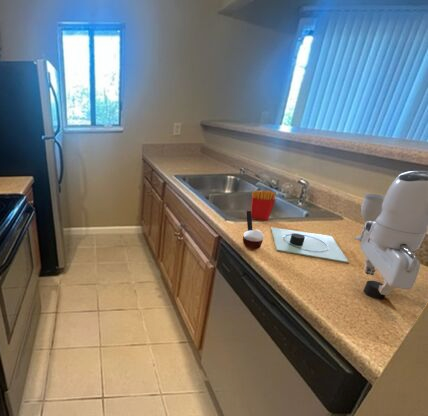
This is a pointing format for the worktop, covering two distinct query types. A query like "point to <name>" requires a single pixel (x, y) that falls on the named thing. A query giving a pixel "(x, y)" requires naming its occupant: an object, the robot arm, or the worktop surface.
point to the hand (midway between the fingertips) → (375, 282)
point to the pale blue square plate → (308, 245)
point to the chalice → (370, 209)
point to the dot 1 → (297, 239)
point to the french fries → (262, 204)
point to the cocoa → (252, 235)
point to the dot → (373, 289)
